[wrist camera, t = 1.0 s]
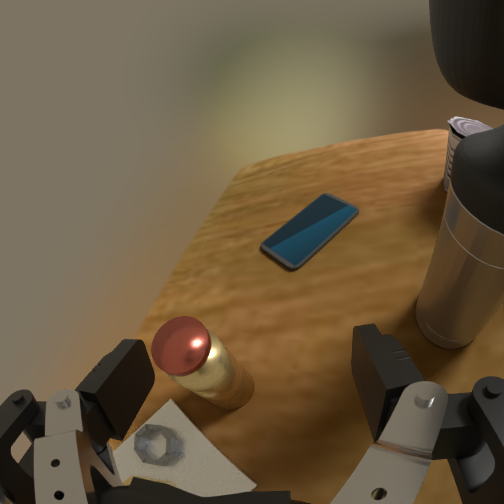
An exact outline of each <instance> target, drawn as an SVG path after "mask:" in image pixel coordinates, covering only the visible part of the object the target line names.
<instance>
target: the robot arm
mask: <svg viewBox="0 0 504 504" xmlns="http://www.w3.org/2000/svg"><path fill="white" fill-rule="evenodd" d="M429 9H430V24H431V33H432V42H433V47H434V52H435V56H436V59H437V62H438V65H439V68H440V70H441V73H442V75H443V76H444V78H445V79H446V81H447V83H448V84H449V85H450V86H451V87H452V88H453V89H454V90H455V91H456V92H458V93H459V94H461V95H463V96H464V97H467V98H469V99H471V100H474V101H476V102H479V103H482V104H485V105H488V106H492V107H496V108H499V109H503V110H504V0H429ZM503 301H504V125H502V126H500V127H497V128H494V129H491V130H487V131H483V132H479V133H474V134H471V135H469V136H467V137H465V138H463V139H462V140H461V141H460V142H459V143H458V145H457V147H456V149H455V152H454V155H453V161H452V168H451V174H450V182H449V188H448V193H447V198H446V203H445V208H444V213H443V218H442V222H441V226H440V230H439V234H438V237H437V241H436V245H435V248H434V252H433V255H432V258H431V262H430V265H429V268H428V271H427V274H426V277H425V280H424V283H423V285H422V288H421V291H420V294H419V297H418V299H417V303H416V312H415V314H416V320H417V323H418V326H419V328H420V330H421V331H422V333H423V334H424V336H425V337H426V338H427V339H428V340H429V341H431V342H432V343H434V344H435V345H437V346H440V347H442V348H447V349H457V348H461V347H464V346H466V345H467V344H469V343H470V342H471V341H472V340H473V339H474V338H475V337H476V336H477V335H478V334H479V332H480V331H481V330H482V329H483V328H484V326H485V325H486V324H487V323H488V322H489V320H490V319H491V318H492V316H493V315H494V314H495V312H496V311H497V310H498V308H499V307H500V306H501V304H502V303H503ZM351 366H352V374H353V378H354V381H355V384H356V387H357V390H358V393H359V396H360V399H361V402H362V405H363V408H364V411H365V414H366V417H367V420H368V423H369V427H370V430H371V433H372V436H373V440H374V442H373V443H372V445H371V446H370V447H369V449H368V450H367V452H366V454H365V455H364V457H363V458H362V460H361V461H360V463H359V464H358V466H357V467H356V469H355V470H354V472H353V473H352V475H351V476H350V478H349V479H348V480H347V482H346V483H345V485H344V486H343V487H342V489H341V490H340V491H339V493H338V494H337V495H336V497H335V498H334V499H333V500H332V502H331V503H330V504H413V502H414V500H415V498H416V496H417V493H418V491H419V489H420V487H421V485H422V483H423V480H424V478H425V476H426V473H427V471H428V468H429V466H430V463H431V460H438V459H447V460H448V463H449V465H450V468H451V471H452V473H453V476H454V479H455V482H456V485H457V488H458V491H459V494H460V497H461V500H462V503H463V504H504V380H503V379H501V378H498V377H493V376H489V377H484V378H482V379H480V380H478V381H477V382H476V383H475V385H474V387H473V390H472V392H469V393H458V394H447V392H446V390H445V389H444V388H443V387H442V386H441V385H439V384H437V383H434V382H429V381H426V380H425V379H424V377H423V376H422V374H421V373H420V371H419V370H418V368H417V367H416V365H415V364H414V362H413V360H412V359H411V357H410V358H409V355H408V353H407V352H406V351H405V349H404V347H403V346H402V344H401V343H400V341H399V340H397V339H396V338H394V337H392V336H391V335H389V334H388V335H381V333H380V332H379V330H378V328H377V327H376V325H375V324H367V325H361V326H355V327H354V328H353V341H352V360H351ZM154 381H155V374H154V370H153V367H152V364H151V361H150V359H149V356H148V353H147V350H146V347H145V344H144V342H143V341H142V340H137V339H124V340H122V341H121V343H120V344H119V345H118V346H117V347H116V348H115V349H114V350H113V351H112V352H110V353H109V354H107V355H106V356H104V357H103V358H102V359H101V360H100V362H99V363H98V365H96V366H95V367H94V368H93V369H92V371H91V372H90V373H89V374H88V375H87V376H86V377H85V379H84V380H83V381H82V382H81V383H80V384H79V385H78V387H77V388H76V389H75V390H72V389H64V390H60V391H58V392H56V393H54V394H53V395H52V396H50V398H49V399H48V401H47V402H39V401H38V402H37V401H36V400H35V398H34V396H33V394H32V393H31V392H30V391H29V390H19V391H16V392H14V393H13V394H11V395H10V396H9V397H8V398H7V399H6V400H5V401H4V402H3V404H2V405H1V406H0V504H310V503H306V502H301V501H295V500H291V498H290V491H268V492H242V493H235V494H228V495H221V496H212V497H201V496H198V495H195V494H192V493H189V492H187V491H184V490H181V489H179V488H176V487H174V486H171V485H169V484H166V483H161V482H156V481H151V480H146V479H142V478H138V477H133V479H132V481H131V483H130V485H123V483H122V481H121V479H120V476H119V473H118V470H117V466H116V463H115V460H114V456H113V453H112V449H111V446H110V445H109V443H108V440H109V439H110V438H112V439H116V440H121V441H123V439H124V437H125V435H126V433H127V431H128V430H129V428H130V426H131V424H132V422H133V421H134V419H135V417H136V415H137V413H138V412H139V410H140V408H141V406H142V405H143V403H144V401H145V399H146V397H147V396H148V394H149V392H150V390H151V389H152V387H153V385H154ZM22 431H23V432H24V434H25V435H26V436H27V438H28V439H29V440H30V442H31V443H32V445H31V446H30V447H29V449H28V450H27V452H26V453H25V455H24V456H23V458H22V459H21V460H20V462H19V463H17V462H16V461H15V460H14V459H13V457H12V455H11V446H12V445H13V443H14V442H15V441H16V439H17V438H18V437H19V435H20V434H21V433H22ZM375 441H377V442H375Z"/></svg>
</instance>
